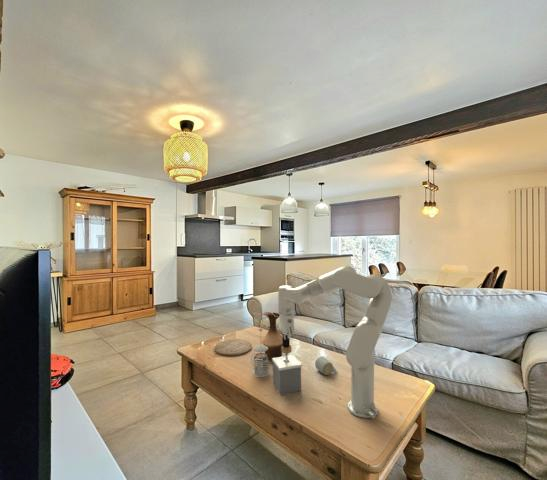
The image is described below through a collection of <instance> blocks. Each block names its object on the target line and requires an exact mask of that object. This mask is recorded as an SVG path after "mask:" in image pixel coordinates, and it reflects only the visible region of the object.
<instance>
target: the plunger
mask: <svg viewBox="0 0 547 480" xmlns="http://www.w3.org/2000/svg"><path fill="white" fill-rule="evenodd" d="M281 351H282V354H285V355H284V356H285V363H287V362H288V356H289V354H291V353H292V346H291V345H290V346H289V347H283V345H282V346H281Z"/></svg>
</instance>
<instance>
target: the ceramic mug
mask: <svg viewBox="0 0 547 480" xmlns="http://www.w3.org/2000/svg"><path fill="white" fill-rule="evenodd" d="M314 366H315V369H317V370H318V371H319V372H321V373H322V374H323V375H325V376H330V375H331V374H332V373H333V372H334V373H335V372H336V371H337V370H336V369H337V368H336V367H334V365H333V363H332V362H331V361H329V360H328V359H327V358H326V357H325V356H318V357H317V359H316V361H315V364H314Z"/></svg>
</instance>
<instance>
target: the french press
mask: <svg viewBox="0 0 547 480" xmlns="http://www.w3.org/2000/svg"><path fill="white" fill-rule="evenodd" d="M258 331H259V332H260V333H262V331H263V328H259V329H258ZM267 350H268V347H267V346H265V345H263V344H258V345H256V346H254V347H253V351H255V352H257V353H254V354H252V355H251V359H250V364H251V365H252V366H253V371H252V375H253V376H254V375H255V376H254V377H256V376H257V378H265V377H268V376H269V375H270V374H271V371H270V370H269V359H268V357H267V354H265V351H267ZM253 356H254V357H253Z"/></svg>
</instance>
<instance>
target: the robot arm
mask: <svg viewBox="0 0 547 480" xmlns="http://www.w3.org/2000/svg"><path fill="white" fill-rule="evenodd" d="M340 289H341V290H345V291H346V292H349V293H352V294H354V295H356V296H359V297H360V298H365V299H369V301H368V303H367V307H366V310H365V312H364V314H363V317H362V318H361V320H360V321H359V322H358V323H357V325H356V326H355V328H354V329H353V333H352V335H351V338H350V341H349V343H348V346H347V349H346V352H345V358H346V361H347V363H348V364H349V366H350V367H351V369H350V370H351V371H350V373H351V374H350V375H351V377H350V379H351V380H350V381H351V382H350V383H351V384H350V387H351V388H350V390H351V391H350V392H351V393H350V394H351V397H350V398H351V399H350V400H349V401H347V409H348V411H349V412H350V413H351V414H353V415H354V416H355V417H358V418H363V419H370V418H371V419H375V418H376V416H378V414H379V411H378V406H377V405H376V404H375V387H374V385H375V359H376V358H375V356H376V350H375V349H376V345H377V343H378V341H379V339H380V336H381V335H382V332H383V327H384V325H385V322H386V319H387V317H388V314H389V310H390V308H391V303H392V298H393V297H392V289H391V287H390V285H389V283H388V281H387V280H386V279H385V278H384V277H382V276H381V275H379V274H369V275H366V276H365V275H362V274H360V273H358V272H357V270H356V268H354V267H353V266H351V265H344V266H341V267H339V268H337V269H334V270H332V271H329V272H327V273H325V274H322V275H321V276H318V278H316V279H314V280H312V281H310V282H307V283H305V284H302V285H299V286H297V287H293V286H292V285H280V286H279V287H278V291H277V292H278V295H277V296H278V297H277V298H278V313H279V314H280V315H279V317H278V326H279V331H280V333H281V332H282V338H283V347H289V346H291V344H290V340H291V338H292V335H295V321H294V320H295V319H294V304H297V305H300V304H302V303H304V302H305V301H307V300H310V299H312V298H314V297H317V296H320V295H323V294H329V293H330V294H331V293H332V292H334V291H338V290H340Z"/></svg>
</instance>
